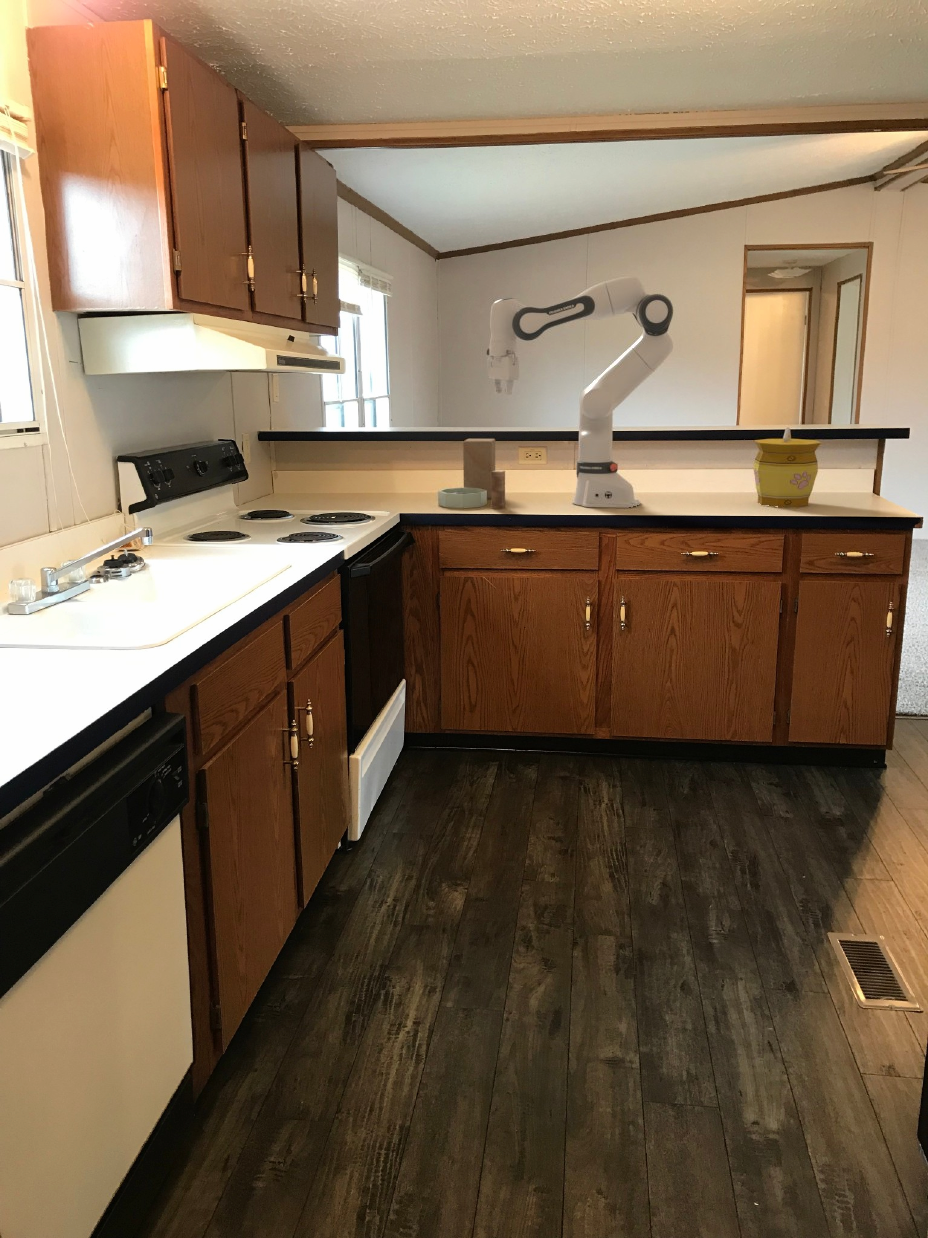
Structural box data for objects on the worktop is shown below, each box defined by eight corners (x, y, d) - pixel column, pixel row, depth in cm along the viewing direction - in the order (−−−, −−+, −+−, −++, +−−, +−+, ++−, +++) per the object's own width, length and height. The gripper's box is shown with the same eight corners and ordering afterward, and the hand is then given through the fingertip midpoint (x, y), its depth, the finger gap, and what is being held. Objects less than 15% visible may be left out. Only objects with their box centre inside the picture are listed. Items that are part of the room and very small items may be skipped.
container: (743, 506, 324) (748, 428, 317) (757, 497, 342) (761, 424, 335) (810, 510, 314) (817, 430, 308) (820, 501, 332) (827, 425, 326)
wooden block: (491, 499, 345) (491, 441, 340) (463, 498, 347) (462, 441, 341) (495, 495, 355) (495, 438, 349) (467, 494, 356) (467, 438, 351)
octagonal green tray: (490, 501, 339) (490, 488, 337) (476, 508, 325) (476, 494, 324) (449, 500, 344) (449, 486, 342) (433, 506, 330) (433, 492, 329)
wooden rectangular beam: (505, 507, 327) (505, 470, 324) (501, 508, 324) (501, 472, 321) (494, 506, 328) (494, 470, 325) (491, 508, 325) (491, 471, 322)
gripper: (524, 350, 315) (523, 394, 318) (501, 350, 333) (501, 392, 337) (505, 350, 313) (505, 395, 316) (484, 350, 331) (484, 392, 335)
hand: (503, 393), depth 327 cm, fingers open, 8 cm apart
